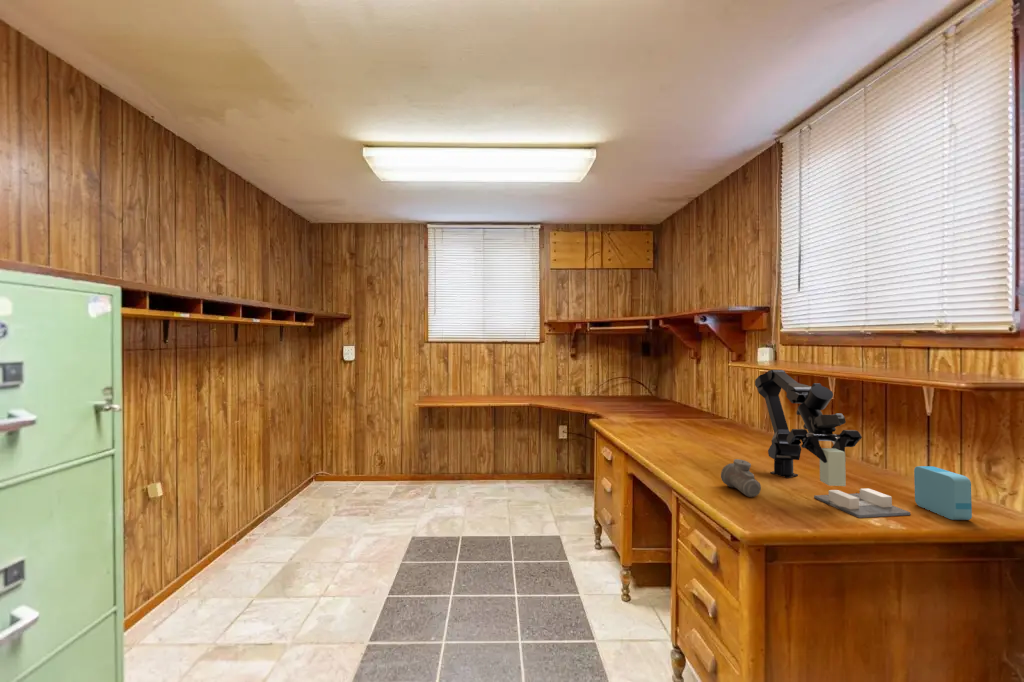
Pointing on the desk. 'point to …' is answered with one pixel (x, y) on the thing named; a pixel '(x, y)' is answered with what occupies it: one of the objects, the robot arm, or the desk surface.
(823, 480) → the block
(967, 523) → the desk surface
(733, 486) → the pipe fitting
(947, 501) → the data package
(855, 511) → the mounting plate
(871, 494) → the mounted modules
